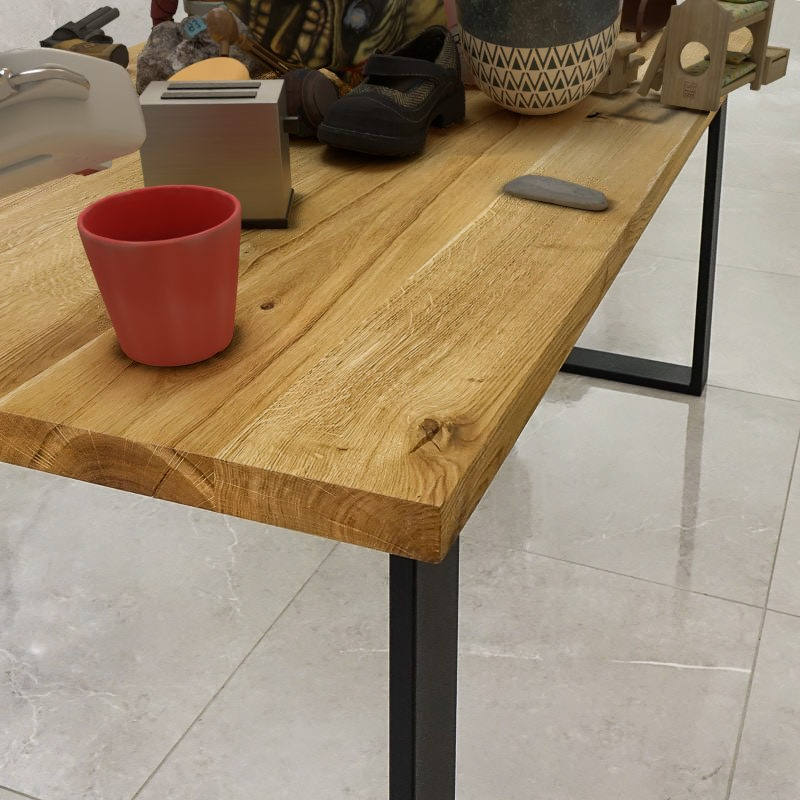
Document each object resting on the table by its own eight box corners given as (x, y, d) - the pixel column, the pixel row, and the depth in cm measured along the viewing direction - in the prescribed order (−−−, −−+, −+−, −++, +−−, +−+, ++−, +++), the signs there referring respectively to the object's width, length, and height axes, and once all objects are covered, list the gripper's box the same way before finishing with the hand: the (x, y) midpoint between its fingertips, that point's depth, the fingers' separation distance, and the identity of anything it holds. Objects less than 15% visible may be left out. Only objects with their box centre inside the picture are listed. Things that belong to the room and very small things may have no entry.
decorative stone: (621, 188, 96) (591, 204, 93) (620, 201, 97) (591, 217, 94) (526, 167, 103) (496, 182, 99) (526, 180, 103) (496, 195, 100)
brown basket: (600, 24, 170) (604, -21, 166) (673, 26, 168) (679, -19, 164) (596, 48, 154) (600, -1, 151) (676, 51, 152) (682, 1, 149)
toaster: (147, 230, 92) (129, 103, 86) (164, 198, 99) (148, 78, 94) (300, 228, 92) (292, 100, 87) (306, 196, 99) (299, 76, 94)
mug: (284, 68, 144) (276, -49, 137) (178, 88, 135) (164, -37, 128) (242, 55, 152) (233, -57, 144) (139, 73, 143) (124, -45, 135)
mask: (228, -51, 108) (468, 60, 116) (264, -151, 115) (488, -40, 123) (185, 73, 125) (396, 163, 133) (218, -20, 133) (417, 70, 140)
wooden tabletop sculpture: (341, 119, 121) (228, 39, 104) (309, 132, 123) (192, 56, 106) (338, 74, 122) (225, -12, 105) (306, 87, 124) (191, 5, 108)
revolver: (115, 82, 141) (14, 80, 144) (187, 27, 162) (98, 26, 165) (108, 48, 139) (6, 46, 142) (182, -3, 160) (92, -4, 163)
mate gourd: (347, 137, 116) (274, 150, 121) (343, 68, 116) (271, 84, 120) (310, 126, 110) (235, 140, 115) (306, 53, 109) (231, 71, 114)
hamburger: (142, 132, 99) (183, 204, 105) (258, 84, 99) (292, 159, 104) (140, 78, 108) (178, 147, 114) (246, 34, 107) (279, 105, 113)
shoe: (293, 158, 108) (288, 59, 103) (399, 103, 126) (399, 16, 121) (387, 174, 104) (386, 72, 99) (483, 115, 122) (486, 26, 117)
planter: (438, 82, 132) (424, -93, 116) (582, 47, 134) (587, -129, 119) (490, 161, 118) (481, -24, 103) (649, 121, 121) (664, -66, 105)
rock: (203, 144, 124) (163, 69, 118) (128, 127, 136) (88, 58, 129) (317, 51, 132) (286, -24, 126) (238, 42, 143) (205, -27, 137)
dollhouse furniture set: (647, 56, 148) (658, -39, 141) (786, 76, 137) (804, -26, 131) (567, 87, 132) (575, -18, 126) (716, 112, 122) (733, -1, 115)
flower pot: (67, 367, 70) (40, 231, 65) (147, 301, 79) (130, 176, 74) (210, 389, 67) (194, 248, 63) (277, 318, 76) (267, 190, 72)
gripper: (13, -25, 37) (180, 55, 50) (-420, 152, 42) (-163, 182, 55) (64, 150, 37) (217, 183, 51) (-371, 305, 42) (-128, 297, 56)
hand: (16, 183), depth 53 cm, fingers open, 8 cm apart
